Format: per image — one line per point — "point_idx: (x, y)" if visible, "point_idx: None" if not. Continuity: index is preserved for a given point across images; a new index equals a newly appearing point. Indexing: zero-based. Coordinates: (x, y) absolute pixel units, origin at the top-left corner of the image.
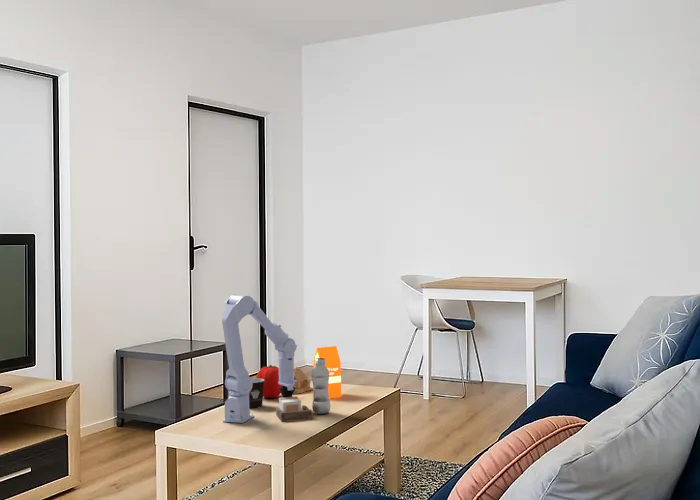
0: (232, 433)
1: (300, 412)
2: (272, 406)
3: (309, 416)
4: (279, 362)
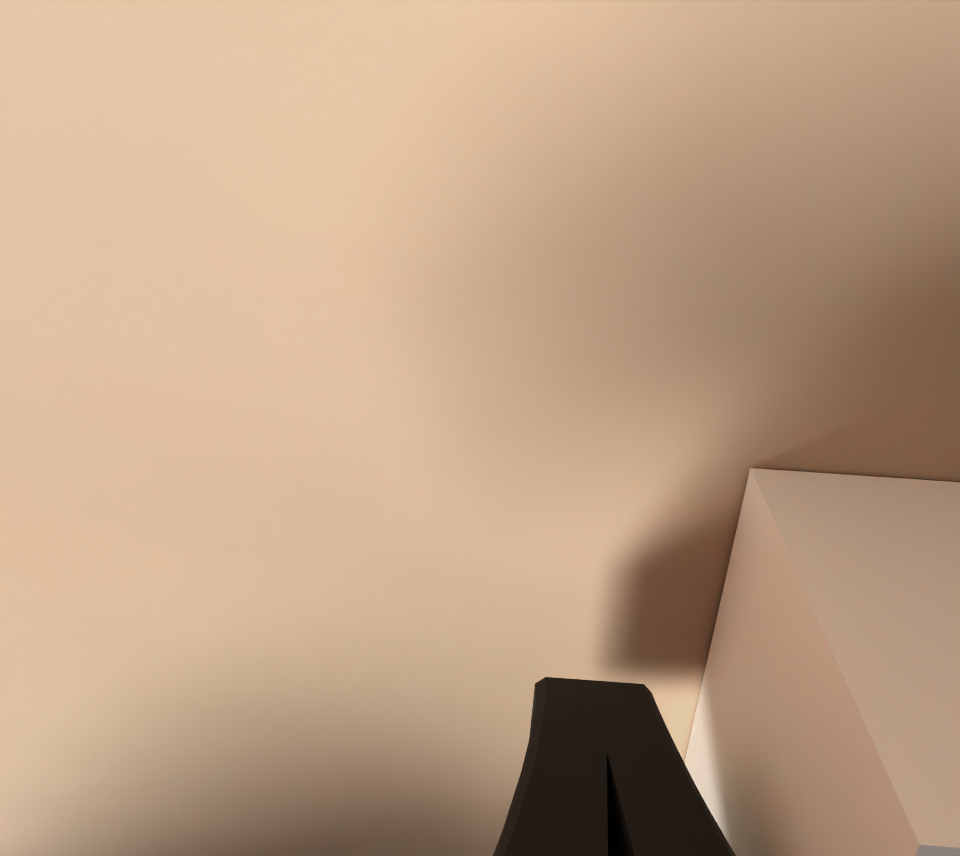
0: None
1: None
2: (102, 829)
3: None
4: None
